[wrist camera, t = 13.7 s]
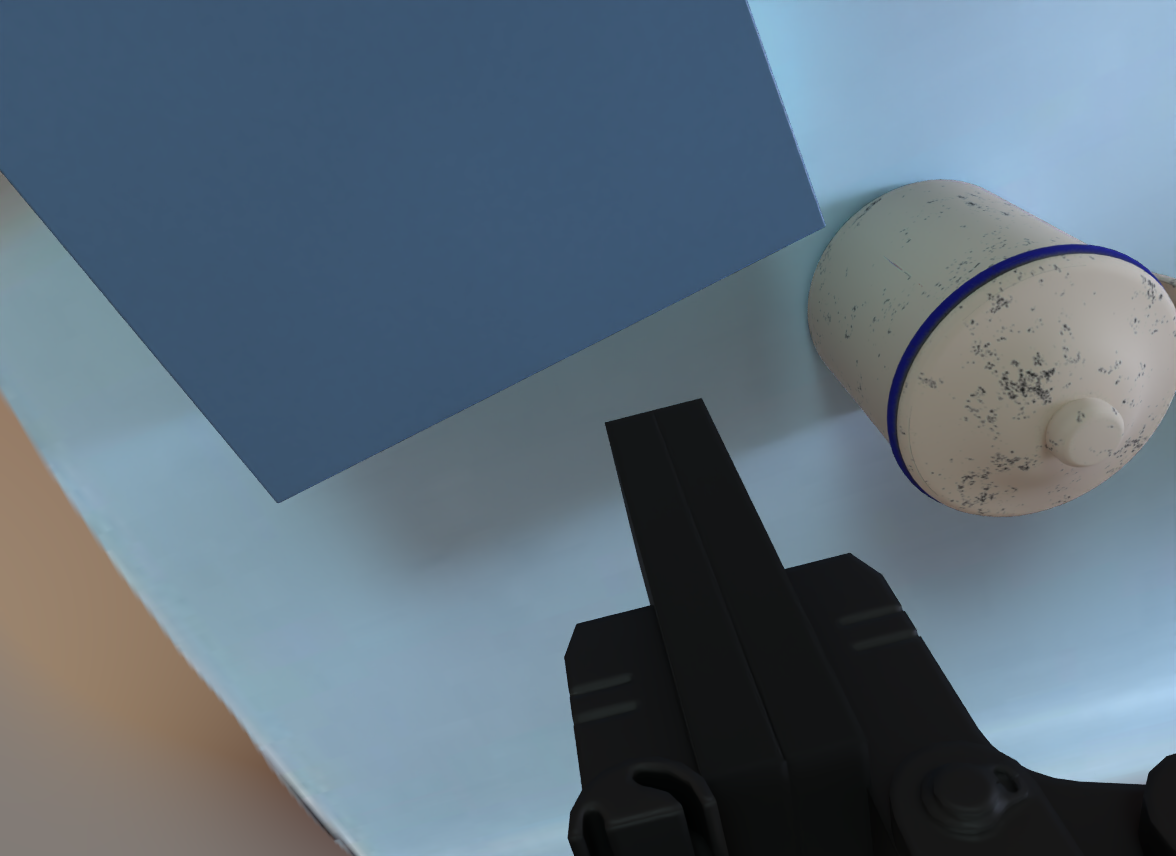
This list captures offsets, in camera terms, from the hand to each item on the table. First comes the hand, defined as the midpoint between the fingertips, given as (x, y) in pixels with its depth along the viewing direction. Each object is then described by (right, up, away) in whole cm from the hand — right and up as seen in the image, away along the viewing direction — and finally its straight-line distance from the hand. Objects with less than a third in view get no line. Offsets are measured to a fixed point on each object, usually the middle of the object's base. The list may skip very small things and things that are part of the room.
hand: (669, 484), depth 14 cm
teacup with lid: (+13, +7, +21) cm, 26 cm away
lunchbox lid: (-6, +9, +8) cm, 14 cm away
